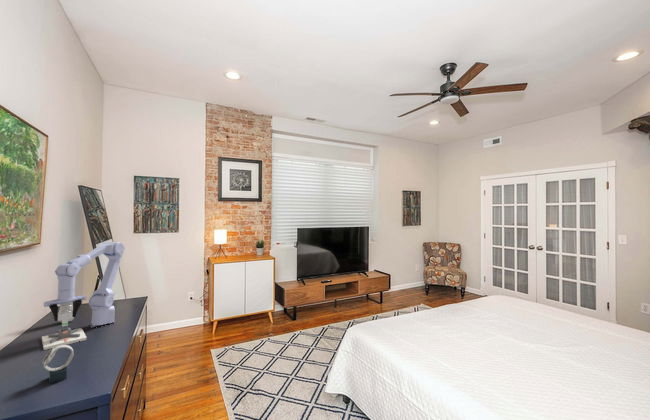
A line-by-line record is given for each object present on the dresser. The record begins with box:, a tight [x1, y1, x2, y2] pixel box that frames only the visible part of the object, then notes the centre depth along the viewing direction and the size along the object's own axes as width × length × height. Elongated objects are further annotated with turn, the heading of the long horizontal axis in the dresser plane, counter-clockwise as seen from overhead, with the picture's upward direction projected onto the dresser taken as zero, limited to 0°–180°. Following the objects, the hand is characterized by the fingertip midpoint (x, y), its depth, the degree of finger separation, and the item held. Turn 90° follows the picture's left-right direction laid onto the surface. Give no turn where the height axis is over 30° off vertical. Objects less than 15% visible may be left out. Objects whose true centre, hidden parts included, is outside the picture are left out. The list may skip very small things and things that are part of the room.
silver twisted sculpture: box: [57, 292, 76, 324], centre depth 151 cm, size 6×7×20 cm
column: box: [58, 310, 72, 327], centre depth 129 cm, size 4×4×6 cm
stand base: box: [41, 327, 88, 351], centre depth 129 cm, size 14×16×4 cm
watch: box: [41, 344, 75, 385], centre depth 98 cm, size 6×8×11 cm
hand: (65, 318), depth 129 cm, fingers open, 6 cm apart
